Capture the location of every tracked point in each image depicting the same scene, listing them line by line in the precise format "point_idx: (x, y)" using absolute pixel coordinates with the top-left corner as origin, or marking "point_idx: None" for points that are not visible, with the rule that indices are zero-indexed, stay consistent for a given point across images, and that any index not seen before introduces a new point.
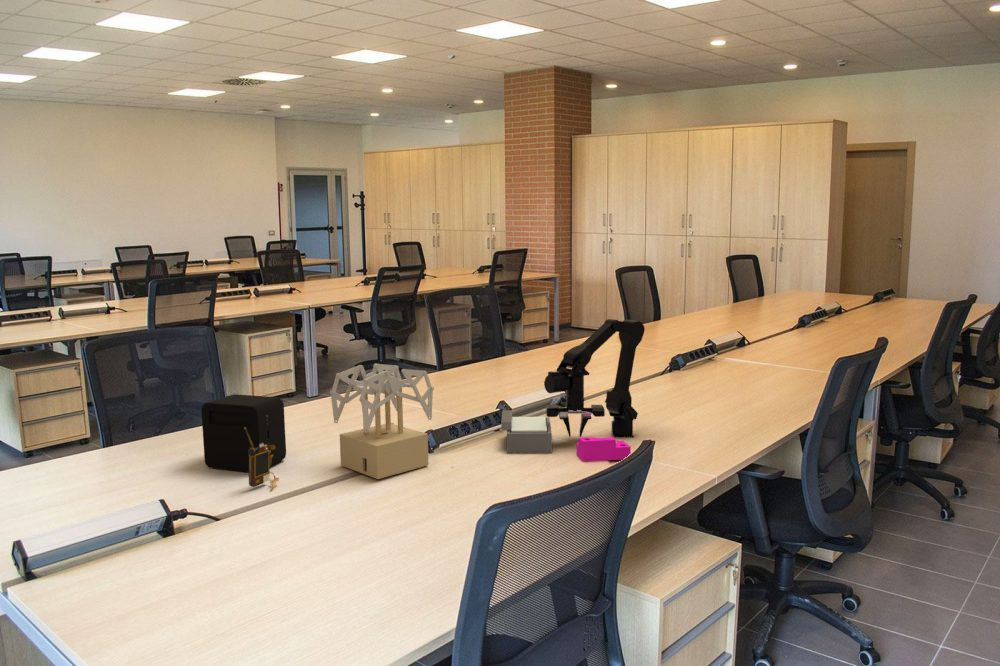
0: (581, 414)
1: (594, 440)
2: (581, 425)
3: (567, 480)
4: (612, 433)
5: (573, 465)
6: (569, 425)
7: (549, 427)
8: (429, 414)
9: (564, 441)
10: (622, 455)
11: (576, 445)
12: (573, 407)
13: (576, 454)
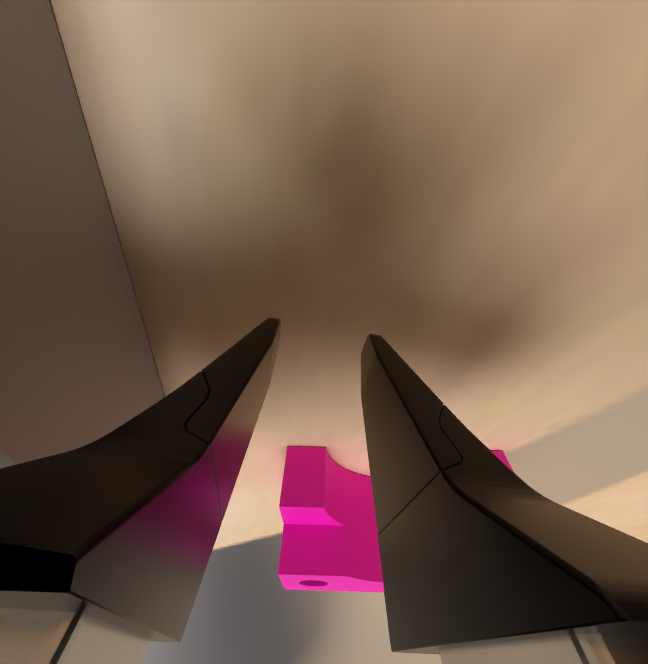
0: (535, 626)
1: (339, 589)
2: (374, 496)
3: (234, 543)
4: None
5: (259, 503)
6: (234, 483)
7: (1, 464)
8: None
9: (247, 199)
10: None
11: (281, 492)
12: None
13: (287, 447)
